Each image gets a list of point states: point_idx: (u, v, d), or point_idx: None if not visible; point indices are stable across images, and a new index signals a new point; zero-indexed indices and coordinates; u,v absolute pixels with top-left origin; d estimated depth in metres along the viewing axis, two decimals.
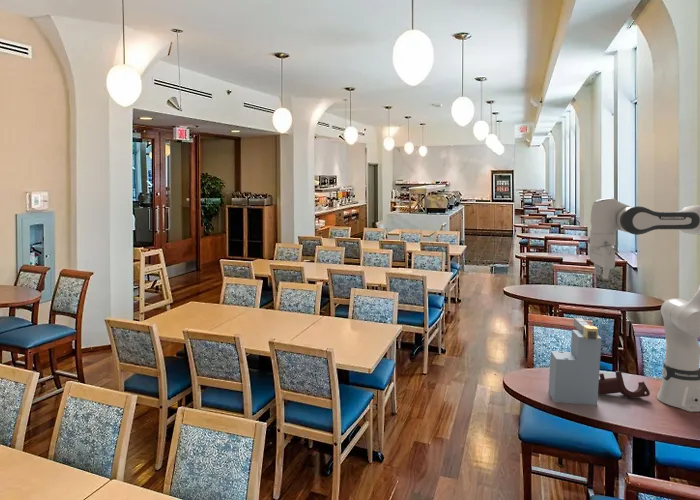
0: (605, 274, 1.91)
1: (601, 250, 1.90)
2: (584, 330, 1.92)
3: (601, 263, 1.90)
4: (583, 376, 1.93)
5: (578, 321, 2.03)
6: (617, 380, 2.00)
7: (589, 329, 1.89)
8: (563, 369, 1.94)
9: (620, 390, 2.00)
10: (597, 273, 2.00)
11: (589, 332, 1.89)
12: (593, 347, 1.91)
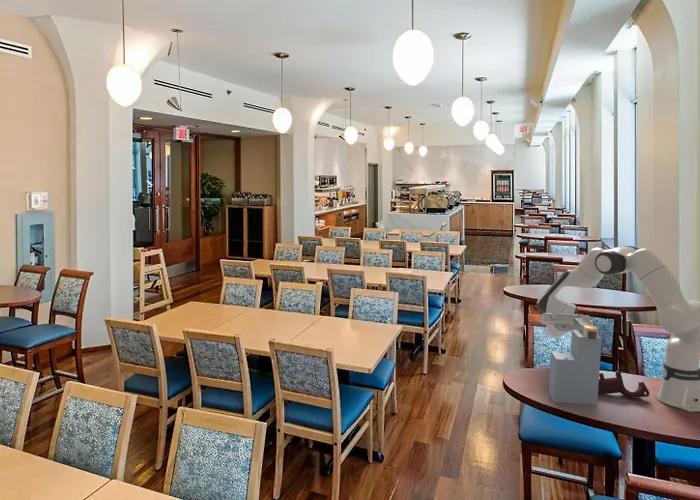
0: (555, 315, 2.23)
1: (550, 324, 2.30)
2: (584, 330, 1.92)
3: (551, 321, 2.26)
4: (583, 376, 1.93)
5: (578, 321, 2.03)
6: (616, 380, 2.00)
7: (589, 329, 1.89)
8: (563, 369, 1.94)
9: (619, 390, 2.00)
10: (579, 316, 2.20)
11: (589, 332, 1.89)
12: (593, 347, 1.91)
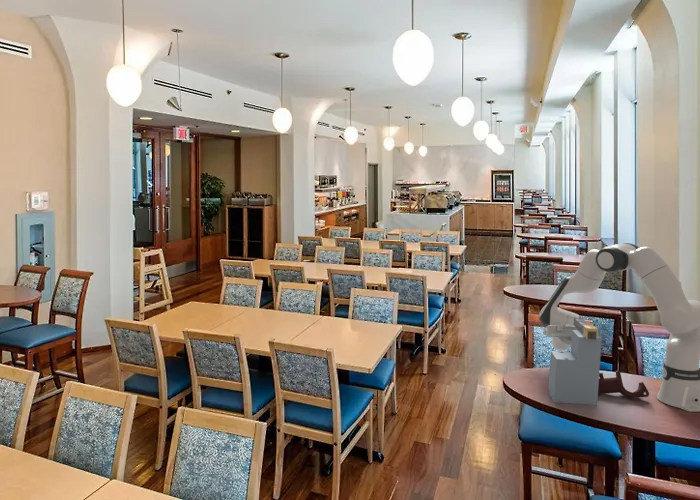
0: (560, 327, 2.14)
1: (556, 336, 2.22)
2: (584, 330, 1.92)
3: (557, 334, 2.18)
4: (583, 376, 1.93)
5: (578, 321, 2.03)
6: (616, 380, 2.01)
7: (589, 329, 1.89)
8: (563, 369, 1.94)
9: (619, 390, 2.00)
10: None
11: (589, 332, 1.89)
12: (593, 347, 1.91)
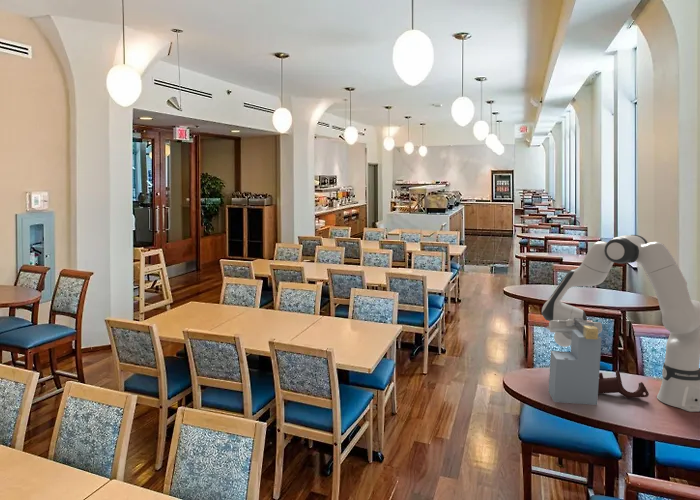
0: (570, 323, 2.08)
1: (559, 332, 2.16)
2: (584, 330, 1.92)
3: (560, 329, 2.11)
4: (583, 376, 1.93)
5: (578, 321, 2.03)
6: (615, 380, 2.01)
7: (589, 329, 1.89)
8: (563, 369, 1.94)
9: (618, 390, 2.00)
10: None
11: (589, 332, 1.89)
12: (593, 347, 1.91)
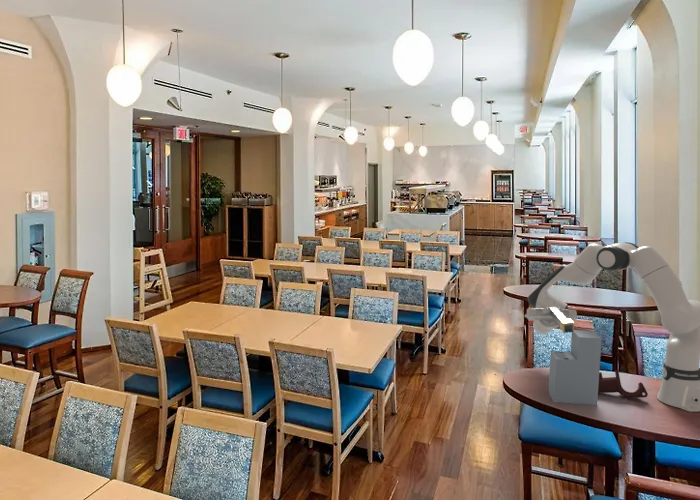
0: (546, 310, 2.17)
1: (536, 319, 2.25)
2: (561, 324, 2.01)
3: (537, 316, 2.21)
4: (583, 376, 1.93)
5: (554, 312, 2.12)
6: (614, 379, 2.01)
7: (565, 323, 1.98)
8: (563, 369, 1.94)
9: (617, 390, 2.00)
10: None
11: (566, 326, 1.98)
12: (593, 347, 1.91)
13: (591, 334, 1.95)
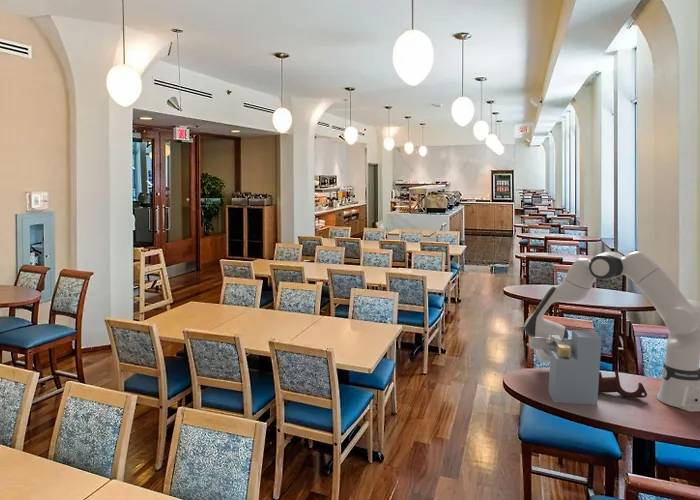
0: (549, 340, 2.09)
1: (539, 348, 2.17)
2: (557, 349, 1.98)
3: (540, 346, 2.12)
4: (583, 376, 1.93)
5: (554, 339, 2.09)
6: (614, 379, 2.01)
7: (562, 348, 1.95)
8: (563, 369, 1.94)
9: (616, 389, 2.00)
10: None
11: (562, 351, 1.95)
12: (593, 347, 1.91)
13: (591, 334, 1.95)
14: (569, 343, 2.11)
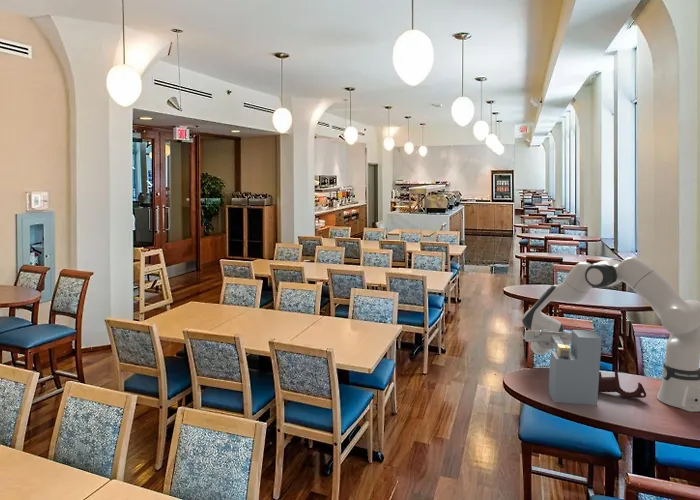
0: (537, 333, 2.20)
1: (534, 341, 2.28)
2: (557, 349, 1.98)
3: (535, 339, 2.23)
4: (583, 376, 1.93)
5: (554, 339, 2.09)
6: (613, 379, 2.01)
7: (562, 348, 1.95)
8: (563, 369, 1.94)
9: (615, 389, 2.00)
10: (562, 334, 2.18)
11: (562, 351, 1.95)
12: (593, 347, 1.91)
13: (591, 334, 1.95)
14: (562, 336, 2.22)
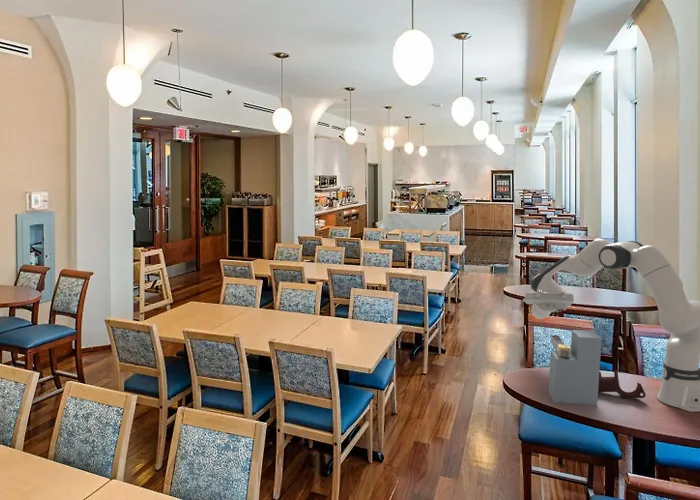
0: (538, 294, 2.23)
1: (534, 303, 2.31)
2: (557, 349, 1.98)
3: (535, 300, 2.26)
4: (583, 376, 1.93)
5: (554, 339, 2.09)
6: (612, 379, 2.01)
7: (562, 348, 1.95)
8: (563, 369, 1.94)
9: (614, 389, 2.00)
10: (561, 294, 2.20)
11: (562, 351, 1.95)
12: (593, 347, 1.91)
13: (591, 334, 1.95)
14: (562, 297, 2.25)
